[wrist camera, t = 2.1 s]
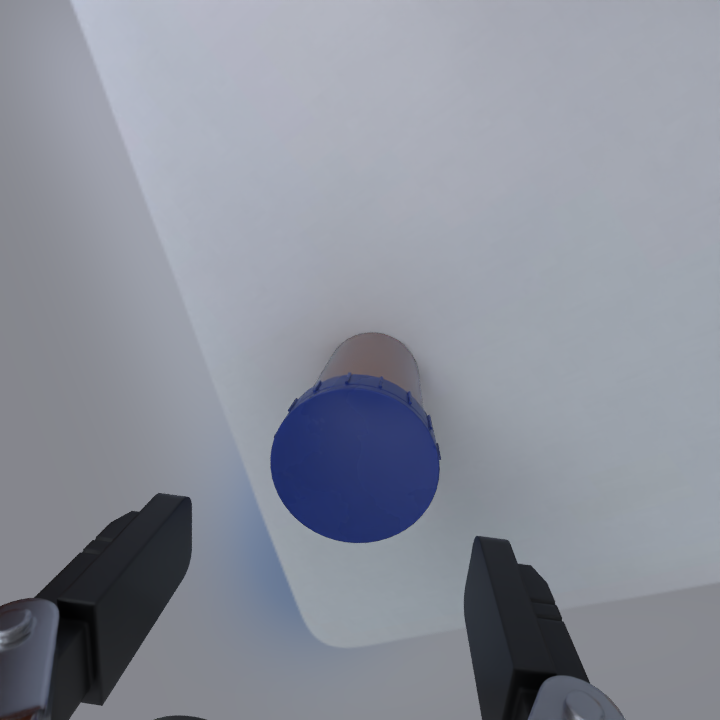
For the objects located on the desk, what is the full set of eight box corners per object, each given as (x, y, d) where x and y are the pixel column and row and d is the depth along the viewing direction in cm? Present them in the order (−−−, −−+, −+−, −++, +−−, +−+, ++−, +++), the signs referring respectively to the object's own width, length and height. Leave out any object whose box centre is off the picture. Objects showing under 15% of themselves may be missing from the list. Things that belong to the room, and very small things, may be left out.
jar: (412, 426, 27) (419, 537, 17) (323, 414, 27) (277, 517, 17) (424, 338, 25) (440, 401, 15) (330, 327, 26) (285, 382, 15)
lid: (425, 526, 18) (427, 555, 16) (277, 505, 18) (265, 531, 16) (447, 383, 16) (453, 399, 15) (286, 363, 17) (273, 376, 15)
